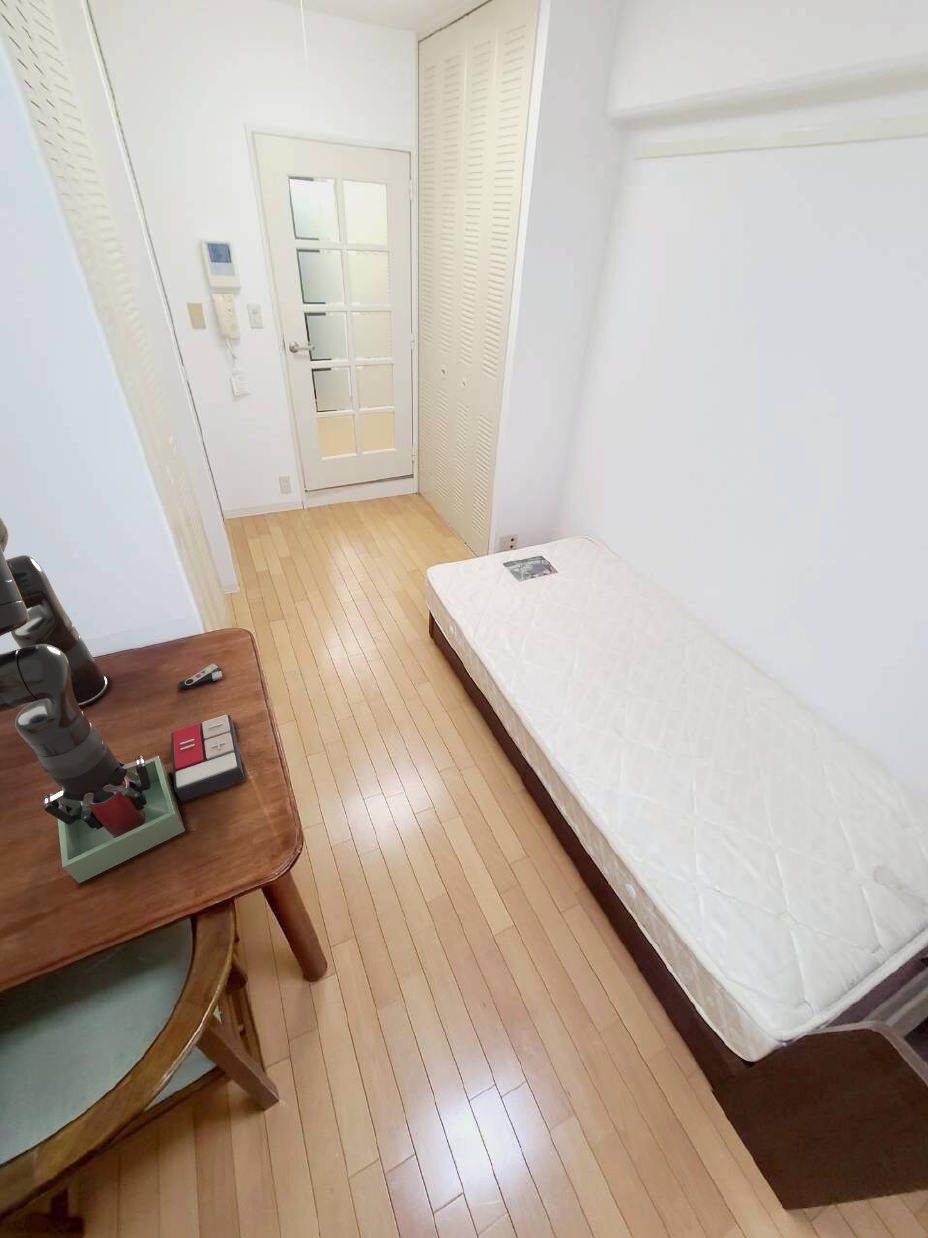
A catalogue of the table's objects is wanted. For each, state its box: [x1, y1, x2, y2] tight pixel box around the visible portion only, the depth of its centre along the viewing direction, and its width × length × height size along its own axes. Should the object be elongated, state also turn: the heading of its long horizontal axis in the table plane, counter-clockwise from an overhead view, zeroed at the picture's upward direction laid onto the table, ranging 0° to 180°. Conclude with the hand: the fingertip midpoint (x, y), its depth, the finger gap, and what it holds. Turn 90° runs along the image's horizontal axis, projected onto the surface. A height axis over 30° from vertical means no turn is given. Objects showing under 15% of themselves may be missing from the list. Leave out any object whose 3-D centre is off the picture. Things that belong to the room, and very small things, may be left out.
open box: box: [57, 755, 186, 884], centre depth 86 cm, size 14×16×6 cm
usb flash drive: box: [178, 663, 223, 691], centre depth 114 cm, size 9×5×1 cm, turn 117°
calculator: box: [170, 714, 245, 802], centre depth 97 cm, size 11×4×15 cm
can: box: [89, 782, 145, 838], centre depth 84 cm, size 6×6×10 cm
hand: (120, 814), depth 85 cm, fingers closed on can, 5 cm apart
